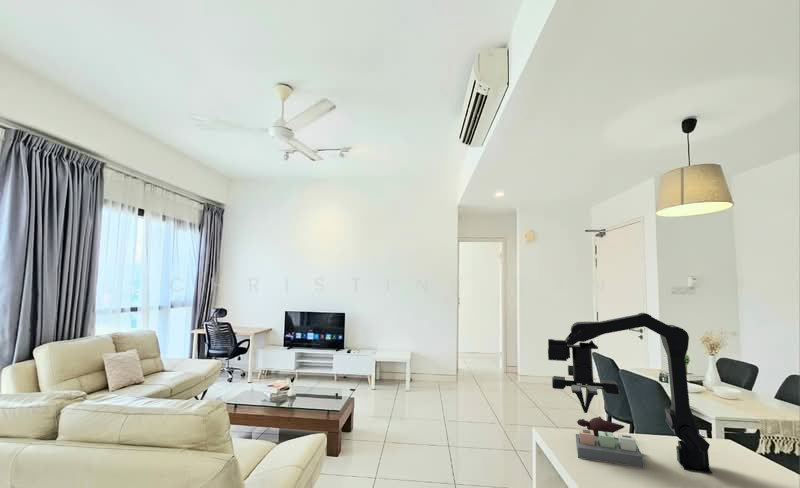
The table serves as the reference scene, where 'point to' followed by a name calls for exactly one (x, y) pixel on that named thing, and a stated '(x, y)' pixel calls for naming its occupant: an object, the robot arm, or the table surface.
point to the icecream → (600, 425)
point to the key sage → (606, 439)
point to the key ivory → (627, 442)
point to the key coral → (586, 437)
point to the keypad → (609, 453)
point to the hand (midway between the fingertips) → (585, 412)
